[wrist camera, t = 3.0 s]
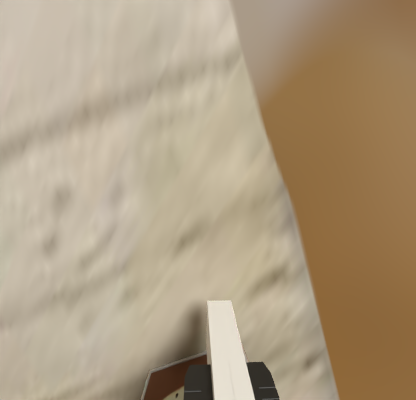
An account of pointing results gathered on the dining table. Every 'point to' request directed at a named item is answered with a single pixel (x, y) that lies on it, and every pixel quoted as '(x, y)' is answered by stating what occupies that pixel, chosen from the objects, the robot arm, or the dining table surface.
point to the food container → (172, 378)
